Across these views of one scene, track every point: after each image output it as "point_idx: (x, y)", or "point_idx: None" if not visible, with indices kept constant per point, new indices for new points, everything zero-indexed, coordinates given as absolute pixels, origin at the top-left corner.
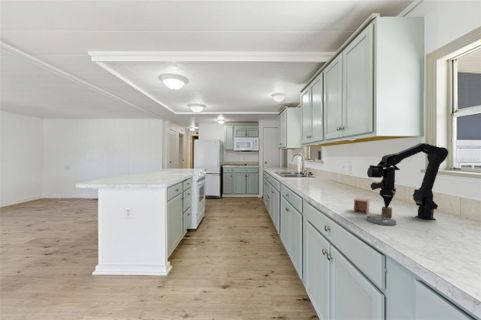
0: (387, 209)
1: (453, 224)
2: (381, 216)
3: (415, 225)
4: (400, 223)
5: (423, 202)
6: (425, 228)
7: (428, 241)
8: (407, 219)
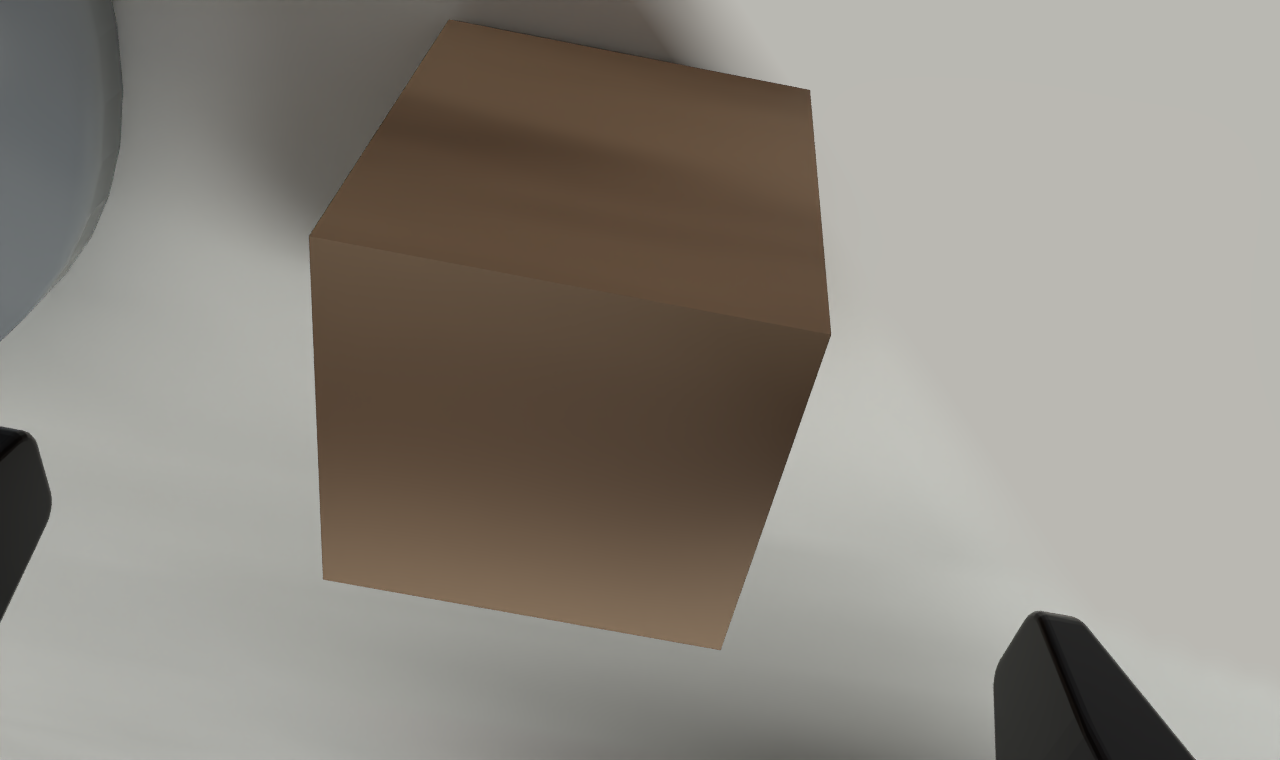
0: (328, 435)
1: None
2: (13, 23)
3: (161, 668)
4: (44, 450)
5: None
6: (78, 746)
7: None
8: (659, 650)
